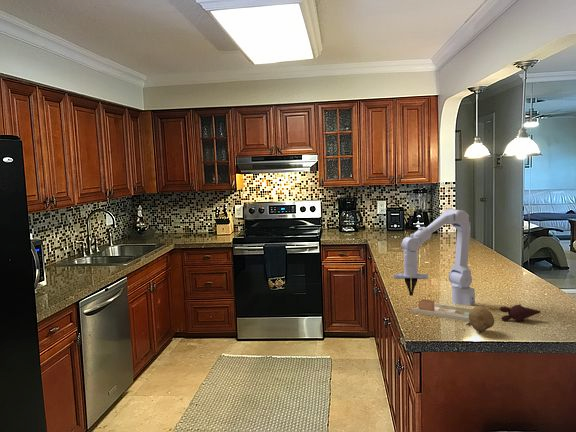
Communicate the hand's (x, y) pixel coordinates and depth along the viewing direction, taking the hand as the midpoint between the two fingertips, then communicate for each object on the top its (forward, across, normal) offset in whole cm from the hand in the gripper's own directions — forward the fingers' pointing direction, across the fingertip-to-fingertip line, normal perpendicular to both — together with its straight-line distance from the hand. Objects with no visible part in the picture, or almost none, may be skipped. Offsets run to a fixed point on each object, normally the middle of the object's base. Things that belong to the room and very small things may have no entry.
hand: (411, 295), depth 212 cm
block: (+6, -6, +3) cm, 9 cm away
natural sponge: (+8, -26, +23) cm, 36 cm away
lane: (+8, -15, +5) cm, 17 cm away
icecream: (+8, -42, +8) cm, 44 cm away
